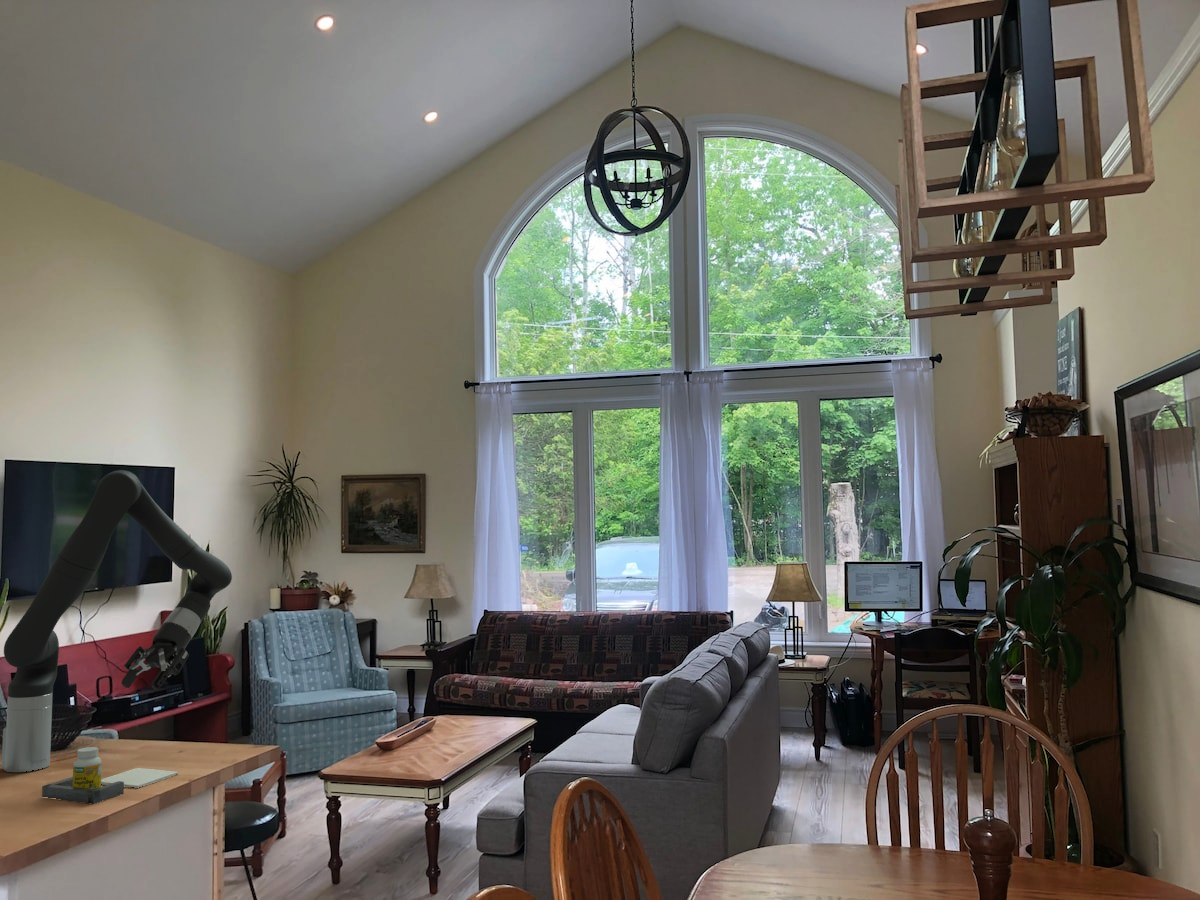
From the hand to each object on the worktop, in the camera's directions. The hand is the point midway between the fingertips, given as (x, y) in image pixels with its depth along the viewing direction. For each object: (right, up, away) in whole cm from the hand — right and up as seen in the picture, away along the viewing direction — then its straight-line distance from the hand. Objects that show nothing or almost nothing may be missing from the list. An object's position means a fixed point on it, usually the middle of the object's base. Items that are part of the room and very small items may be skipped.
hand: (139, 687), depth 214 cm
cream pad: (+1, -20, -3) cm, 20 cm away
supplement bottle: (-4, -20, -15) cm, 25 cm away
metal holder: (-4, -19, -15) cm, 25 cm away
